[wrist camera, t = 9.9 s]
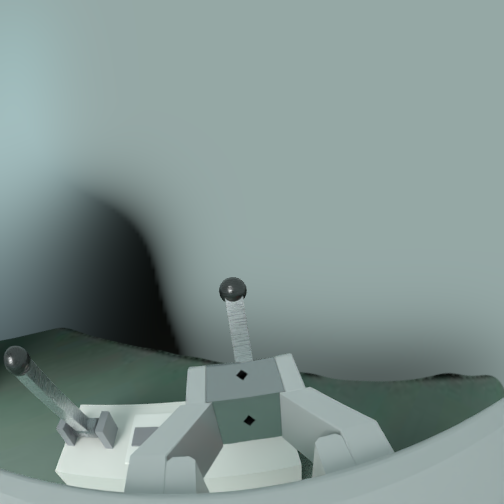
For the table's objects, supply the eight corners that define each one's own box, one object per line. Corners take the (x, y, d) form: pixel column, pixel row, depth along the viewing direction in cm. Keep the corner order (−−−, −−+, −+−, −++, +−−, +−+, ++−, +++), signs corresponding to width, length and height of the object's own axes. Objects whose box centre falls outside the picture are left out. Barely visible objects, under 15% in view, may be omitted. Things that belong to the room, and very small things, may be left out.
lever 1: (77, 440, 23) (-9, 363, 15) (79, 421, 25) (0, 339, 16) (103, 441, 23) (19, 364, 15) (104, 422, 25) (27, 338, 17)
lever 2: (238, 435, 23) (211, 279, 24) (238, 425, 25) (213, 280, 27) (274, 430, 23) (250, 274, 25) (271, 420, 26) (248, 274, 27)
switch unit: (74, 492, 20) (41, 455, 18) (94, 428, 29) (72, 388, 27) (301, 486, 22) (301, 447, 20) (281, 413, 31) (277, 370, 29)
